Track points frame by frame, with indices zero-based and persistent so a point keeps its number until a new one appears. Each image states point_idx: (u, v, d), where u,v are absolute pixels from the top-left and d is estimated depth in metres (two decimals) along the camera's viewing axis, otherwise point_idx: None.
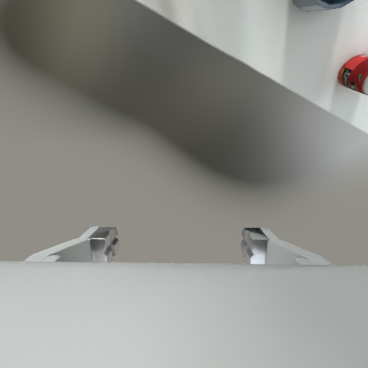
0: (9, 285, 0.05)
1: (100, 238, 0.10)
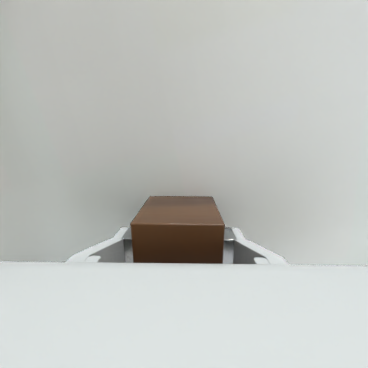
0: (9, 285, 0.05)
1: None
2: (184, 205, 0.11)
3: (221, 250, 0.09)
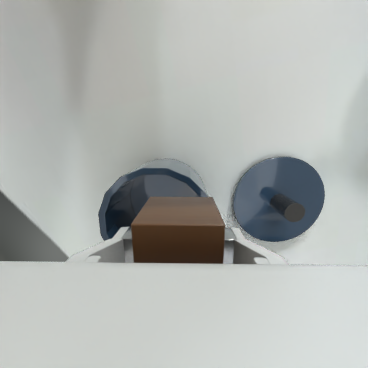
0: (9, 285, 0.05)
1: None
2: (185, 205, 0.11)
3: (221, 251, 0.09)
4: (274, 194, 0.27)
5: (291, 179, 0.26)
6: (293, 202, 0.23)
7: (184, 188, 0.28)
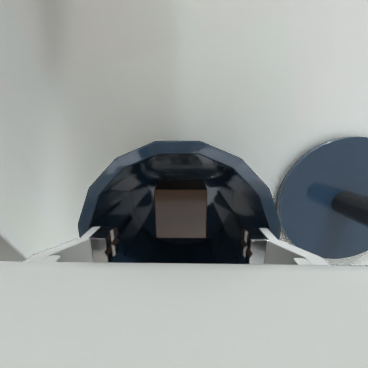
0: (9, 285, 0.05)
1: (101, 238, 0.10)
2: (184, 183, 0.18)
3: (205, 205, 0.15)
4: (338, 191, 0.19)
5: (364, 169, 0.18)
6: None
7: (208, 184, 0.20)
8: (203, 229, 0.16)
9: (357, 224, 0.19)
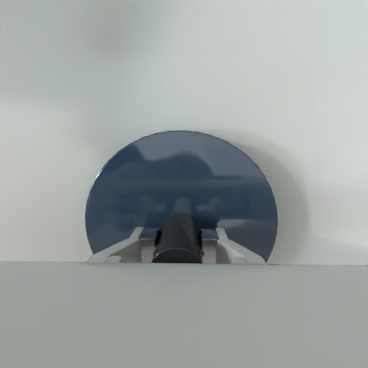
0: (9, 285, 0.05)
1: (150, 238, 0.10)
2: None
3: None
4: None
5: (130, 209, 0.12)
6: None
7: None
8: None
9: (217, 206, 0.12)
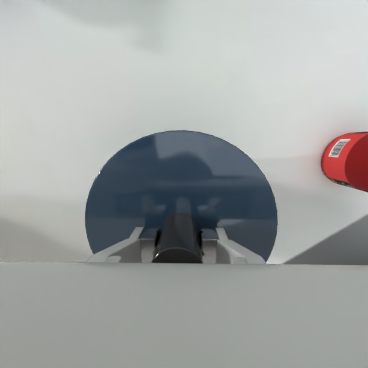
0: (9, 285, 0.05)
1: (150, 238, 0.10)
2: None
3: None
4: None
5: (130, 209, 0.12)
6: None
7: None
8: None
9: (217, 206, 0.12)
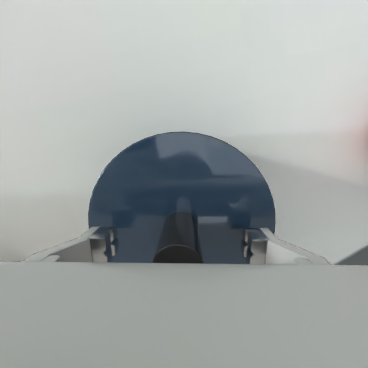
0: (9, 285, 0.05)
1: (100, 238, 0.10)
2: None
3: None
4: None
5: (132, 208, 0.13)
6: None
7: None
8: None
9: (217, 205, 0.12)
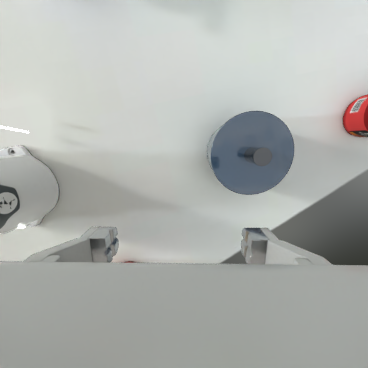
0: (9, 285, 0.05)
1: (100, 238, 0.10)
2: None
3: None
4: (244, 159, 0.29)
5: (231, 145, 0.29)
6: (252, 157, 0.25)
7: None
8: None
9: (268, 143, 0.29)
